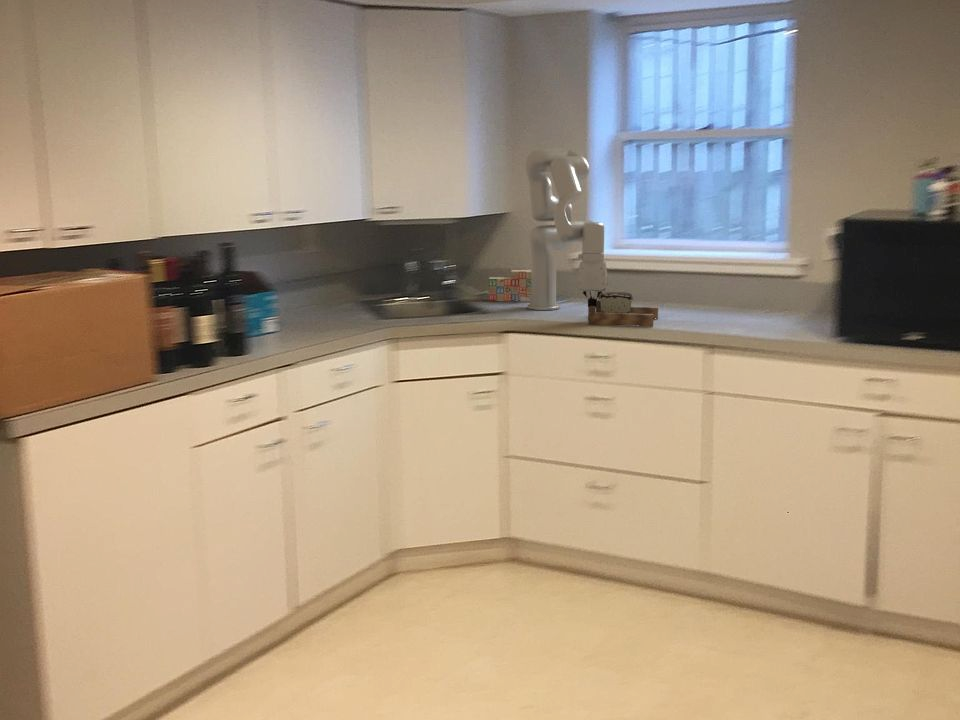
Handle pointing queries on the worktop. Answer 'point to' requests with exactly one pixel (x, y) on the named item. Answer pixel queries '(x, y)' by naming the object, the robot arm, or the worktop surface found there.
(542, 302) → the robot arm
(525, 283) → the stack of blocks
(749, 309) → the worktop surface
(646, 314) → the wooden tray
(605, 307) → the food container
